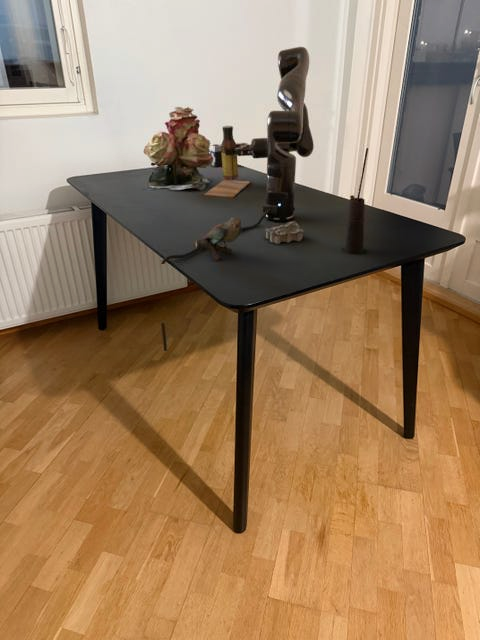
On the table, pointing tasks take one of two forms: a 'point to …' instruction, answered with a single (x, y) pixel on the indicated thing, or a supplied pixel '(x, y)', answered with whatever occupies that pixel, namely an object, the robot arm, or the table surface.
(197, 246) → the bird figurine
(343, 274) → the table surface
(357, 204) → the butter churn
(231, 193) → the flat copper plate
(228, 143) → the sauce bottle
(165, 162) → the rose bouquet
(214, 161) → the camera
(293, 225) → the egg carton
